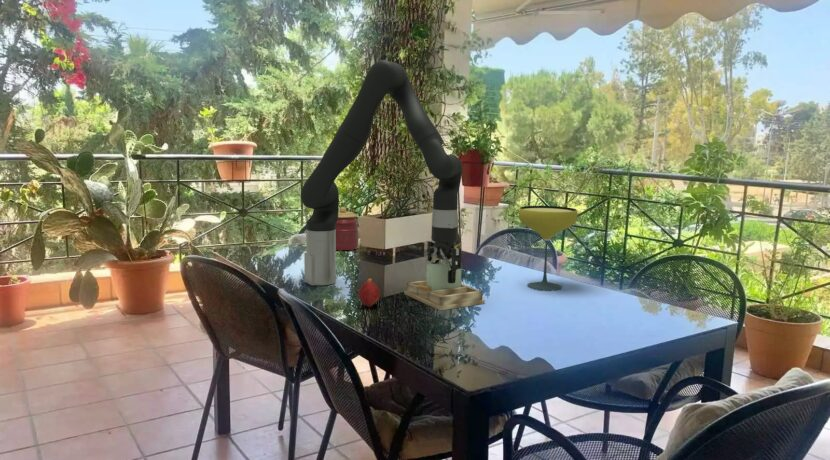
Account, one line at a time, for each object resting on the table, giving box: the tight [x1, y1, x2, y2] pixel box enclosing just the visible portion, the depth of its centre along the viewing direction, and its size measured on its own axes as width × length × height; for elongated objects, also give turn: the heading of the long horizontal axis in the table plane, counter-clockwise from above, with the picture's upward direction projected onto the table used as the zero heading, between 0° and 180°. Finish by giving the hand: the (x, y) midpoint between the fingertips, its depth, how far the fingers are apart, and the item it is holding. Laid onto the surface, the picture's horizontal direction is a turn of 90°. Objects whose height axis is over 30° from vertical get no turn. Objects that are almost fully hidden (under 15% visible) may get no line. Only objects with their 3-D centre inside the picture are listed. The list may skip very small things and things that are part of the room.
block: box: [425, 262, 462, 291], centre depth 179 cm, size 10×3×9 cm, turn 120°
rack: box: [403, 280, 486, 311], centre depth 179 cm, size 15×20×4 cm
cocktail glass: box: [518, 205, 579, 292], centre depth 194 cm, size 18×18×25 cm
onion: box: [358, 278, 381, 308], centre depth 169 cm, size 6×6×8 cm
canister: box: [336, 206, 360, 252], centre depth 258 cm, size 13×13×18 cm
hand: (443, 279), depth 179 cm, fingers open, 8 cm apart
